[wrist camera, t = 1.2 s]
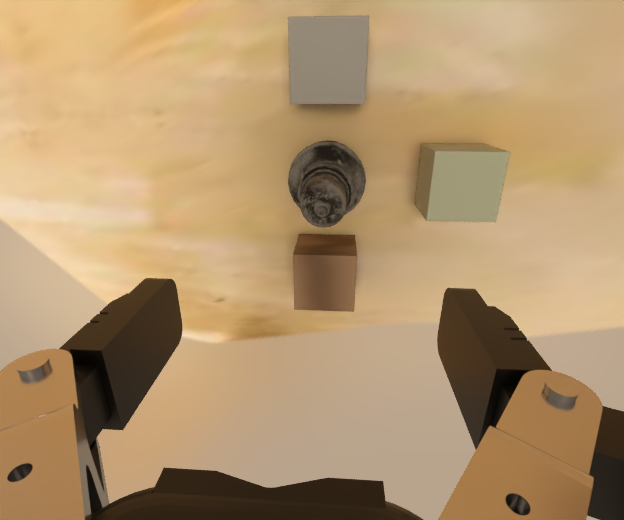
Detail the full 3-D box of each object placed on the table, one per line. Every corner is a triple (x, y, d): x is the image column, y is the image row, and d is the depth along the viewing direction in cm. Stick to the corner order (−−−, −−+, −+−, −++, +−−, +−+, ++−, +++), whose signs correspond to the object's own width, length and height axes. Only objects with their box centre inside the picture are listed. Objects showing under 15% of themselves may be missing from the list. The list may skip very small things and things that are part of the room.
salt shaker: (316, 219, 34) (305, 278, 23) (280, 161, 32) (248, 195, 21) (375, 185, 32) (394, 230, 21) (340, 122, 30) (340, 136, 19)
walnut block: (354, 234, 34) (357, 256, 29) (352, 284, 36) (354, 311, 31) (299, 233, 34) (293, 254, 30) (300, 282, 36) (294, 309, 32)
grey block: (364, 29, 28) (369, 15, 23) (361, 102, 30) (364, 103, 25) (296, 29, 28) (288, 16, 23) (297, 102, 30) (290, 103, 25)
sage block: (484, 143, 30) (510, 151, 26) (473, 204, 32) (495, 222, 28) (421, 143, 31) (435, 151, 26) (414, 203, 33) (426, 220, 28)
